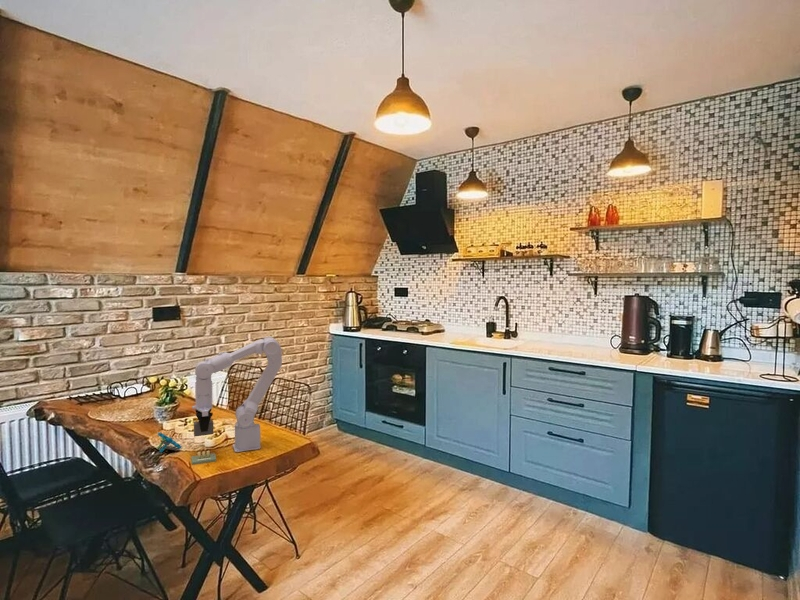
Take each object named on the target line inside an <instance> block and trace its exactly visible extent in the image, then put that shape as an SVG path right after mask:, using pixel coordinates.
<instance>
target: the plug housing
mask: <svg viewBox="0 0 800 600" xmlns="http://www.w3.org/2000/svg"><path fill="white" fill-rule="evenodd" d="M209 435H214V420H213V419H212V418H211V419H210V422H209V427H208V431H206V432H201V429H200V423H199V420H197V421H195V420H194V421H193V437H194V438H195V437H203V436H209Z"/></svg>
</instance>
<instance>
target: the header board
mask: <svg viewBox="0 0 800 600" xmlns="http://www.w3.org/2000/svg"><path fill="white" fill-rule="evenodd" d="M190 458H191V459H190V460H191V465H192V466H193V465H199V464H206V463H212V462H217V457H216V453H215V452H211V453H210V450H206V451H205V450H204V451H203V450H202V452H201V451H198V452H197V455H191V457H190Z"/></svg>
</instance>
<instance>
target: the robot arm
mask: <svg viewBox="0 0 800 600" xmlns="http://www.w3.org/2000/svg"><path fill="white" fill-rule="evenodd" d="M282 352H283V350H282V347H281V345H280V343H279V342H278V341H277V340H276V338H274V337H272V336H265V337H264V338H260V339H257V340H255V341H252V342H251V343H249V344H247V345H245V346H242V347H240V348H238V349H236V350H234V351H232V352H226V351H224V352H222V351H220V352H218V354H217V355H215V356H213V357H211V358H205V360H204V361H203V360H202V361H200V362H198V363H196V366H195V368H194V370H195V371H194V372H195V385H194V386H195V405H192V406H191V410H195V417H196V418H197V421H199V423H200V429H201V432H206V431H208V427H209V422H210V420H212V417H213V415H214V414H213V412H211V411H212V409H213V407H214V406H213V405H214V404H213V381H212V375H213V374H216V373H219V372H221V371H223V370H225V369H227V368H229V367H232V366H233V363H234V361H237V360H240V359H242V358H244V357H247V356H248V357H249V355H252V354H258V355H259V354H260V355H263V353H264V354H265V356H266V357H265V358H266V360H267V365H266V366H265V368H264V370H263V372H262V373H261V374H260V376H259V378H258V379H257V382H256V383H255V385H254V386H253V389H251V392H250V393H249V395H248V397H247V398H246V399H245V400H244V401H243V403H242V404H241V405H240V406H238V407H236V410H235V412H234V413H235V418H236V423H235V424H234V443H233V444H232V449H233V450H234V453H240V452H248V451H255V450H260V449H261V447H262V446H261V443H262V442H261V438H262V437H261V435H262V434H261V432H262V431H261V425H260V423H255V416H256V414H257V412H258V408H259V405H260V403H261V402H262V400H263V398H264V396H265V395H266V393H267V391H269V388H270V386H271V385H272V383H273V381H274V380H275V378H276V376H277V375H278V373H279V371H280V369H281V367H282V365H283V361H282V360H283V359H282V358H283V357H282V354H283V353H282Z"/></svg>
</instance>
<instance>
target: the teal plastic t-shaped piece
mask: <svg viewBox="0 0 800 600" xmlns="http://www.w3.org/2000/svg"><path fill="white" fill-rule="evenodd" d="M157 435H158V436H159V437H160V440H161V441H160V443H159V445H158V446H157V447H156V448H157V449H158V450H159V449H160V450H159V453H163V452H164V450H165V449H166V448H167V447H169V446H170V445H171V444H172V446H174V447H176V448H178V449H181V448H182V445H181V444H180V443H177V442H176V441H175V440H173V437H171V436H170V437H169V436H167V435H165V434H164V433H162V432H158V433H157Z"/></svg>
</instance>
